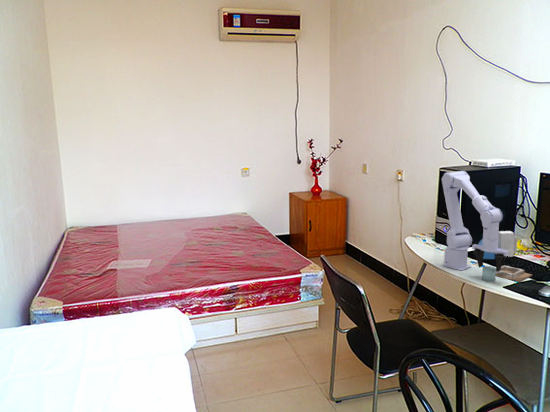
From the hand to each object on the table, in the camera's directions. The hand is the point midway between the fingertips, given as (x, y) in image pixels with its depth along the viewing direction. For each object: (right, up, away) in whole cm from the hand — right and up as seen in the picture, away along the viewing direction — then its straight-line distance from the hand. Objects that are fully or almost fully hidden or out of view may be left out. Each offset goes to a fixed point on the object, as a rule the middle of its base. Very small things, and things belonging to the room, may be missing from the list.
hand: (489, 268), depth 184 cm
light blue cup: (0, -5, +1) cm, 5 cm away
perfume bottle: (+13, +1, +29) cm, 32 cm away
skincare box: (+22, +2, +30) cm, 37 cm away
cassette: (+27, +4, +39) cm, 48 cm away
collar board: (+11, -3, +5) cm, 12 cm away
